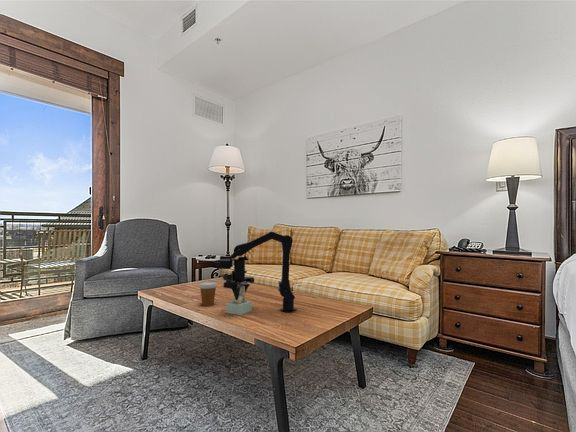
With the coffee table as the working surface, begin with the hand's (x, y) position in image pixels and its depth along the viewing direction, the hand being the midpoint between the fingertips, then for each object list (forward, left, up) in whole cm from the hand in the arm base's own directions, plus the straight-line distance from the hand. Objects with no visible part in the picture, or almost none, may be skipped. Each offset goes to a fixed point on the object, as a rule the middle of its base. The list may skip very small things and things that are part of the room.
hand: (239, 298), depth 160 cm
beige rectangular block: (0, 0, -4) cm, 4 cm away
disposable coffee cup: (-2, -24, -7) cm, 25 cm away
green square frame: (0, 0, -7) cm, 7 cm away
